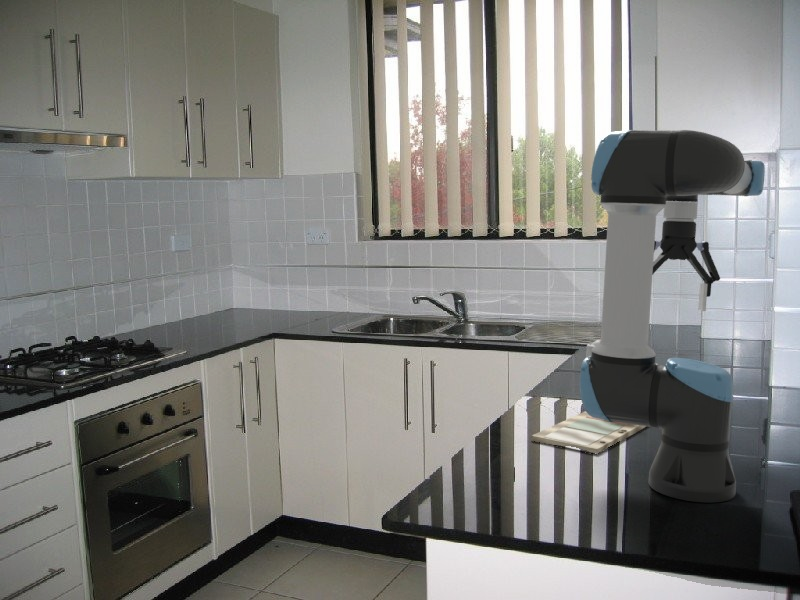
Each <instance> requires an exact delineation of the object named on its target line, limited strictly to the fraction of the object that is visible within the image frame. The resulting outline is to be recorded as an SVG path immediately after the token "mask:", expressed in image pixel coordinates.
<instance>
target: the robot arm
mask: <svg viewBox="0 0 800 600" xmlns="http://www.w3.org/2000/svg"><path fill="white" fill-rule="evenodd" d="M764 163H765V162H763V161H761V160H751V159H748V160H745V158H744V155H743V153H742V152H741V150H740V149H739V147H737V146H736V145H735V144H734V143H732V142H731V141H729V140H727V139H724V138H723V137H720V136H716V135H714V134H711V133H708V132H707V133H706V132H704V131H703V132H702V131H698V130H690V129H680V130H658V129H657V130H656V129H655V130H654V129H653V130H652V129H651V130H647V129H645V130H644V129H643V130H642V129H640V130H638V129H636V130H635V129H634V130H633V129H629V130H620V131H619V130H618V131H610V132H608V133H607V134H605V135H604V136H603V137H602V138H601V139H600V141H599V144H598V146H597V148H596V151H595V153H594V158H593V162H592V168H591V175H590V176H591V177H590V178H591V179H590V180H591V190H592V192H593V193H594V194H595V195H598V196H600V206H602V208H603V210H605V211H606V213H607V228H606V247H605V265H604V279H603V297H602V309H601V311H602V314H601V328H600V329H601V330H600V339H599V340H600V342H599V343H598V344H597V345H596V346H595V347H593V348H592V355H591V356H589V357H586V356H585V358H584V359H583V360H582V363H581V366H580V372H579V373H580V374H579V392H580V399H581V403H582V406H583V408H584V412H585V411H586V412H587V414H588V415H590V416H591V417H593V418H597V419H602V420H607V421H608V422H620V423H627V424H634V425H641V426H647V427H649V428H657V429H661V436H660V438H661V439H660V440H661V441H660V445H659V448H658V450H657V453H656V454H655V457H654V459H653V462H652V464H651V467H650V468H649V472H648V486H649V487H650V488H651V489H652V490H654V491H655V492H657V493H660V494H661V495H664V496H667V497H670V498H674V499H678V500H682V501H686V502H688V501H689V502H695V503H720V502H721V503H722V502H727V501H730V500H733V498H735V496H736V492H737V479H736V477H735V473H734V469H733V464H732V462H731V457H730V455H729V454H730V453H729V447H730V445H729V444H730V433H731V416H732V406H733V403H732V402H734V398H735V397H734V395H733V394H734V393H733V392H734V389H733V388H734V379H733V377H732V375H731V373H729V372H728V371H727V370H726V369H725V368H723V367H720V366H718V365H716V364H713V363H710V362H707V361H706V362H705V361H703V360H697V359H693V358H685V357H684V358H682V357H669V358H668V359H666V362H665V364H658V363H656V352H655V351H654V349H652V347H650V345H649V330H650V315H651V301H652V298H651V297H652V288H653V286H652V285H653V283H652V282H653V275H654V274H655V273H656V272H657V270H658V269H659V268H660V267H661V266H662V265H663V264H664V263H665V262H666V261H668V260H671V261H676V260H680V261H686V260H687V261H688V262H689V264H690V265H691V266H692V267H693V269H694V270H695V271H696V272H697V274H698V276H699V277H700V278H701V279H702V281H703V282H700V283H699V295H698V306H697V307H698V310H699V311H701V312H706V311H707V297H711V294H712V284H714V283H715V282H718V281H720V280H721V277H720V273H719V271H718V269H717V267H716V265H715V262H714V260H713V257H712V255H711V253H710V247H709V244H710V243H709V242H708V241H703V240H702V241H700V242H698V241H697V242H696V236H697V235H696V233H697V223H696V221H695V220H697V218H698V204H699V201H698V200H699V199H698V198H699V196H700V195H701V196H702V195H703V196H712V195H713V196H737V197H739V196H740V197H751V196H753V197H754V196H757V197H758V196H760V195H761V194H763V190H764V184H765V176H766V175H765V173H766V171H765V169H766V167H765V166H766V165H765V164H764ZM662 210H663V218H664V219H665V220H664V221H663V222H662V229H661V230H662V231H661V232H662V233H661V240H660V241H658V240H655V239H656V228H657V227H656V225H657V216H658V215H659V213H660V212H661V211H662ZM658 248H660V249H661V250H662V251H661V253H660V254H659V255H658V257H657V258H656V259H655V260H654V255H655V251H656V250H658ZM696 248H697V250H698V251H699V252H700V255H701V257H702V259H703V262H704V264H705V266H706V269H707V271H708V272H707V271H706V270H705V268H704V267H703V266H702V264H701V263H700V262H699V260H698V259H697V257H696V256H695V254H694V253H693V252H694V251H695V250H696Z"/></svg>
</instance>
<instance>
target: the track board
mask: <svg viewBox="0 0 800 600" xmlns="http://www.w3.org/2000/svg"><path fill="white" fill-rule="evenodd" d="M646 427H648V426H641V425H634V424H627V423H620V422H608V421H607V420H602V419H597V418H593V417H591V416H590V415H588V414H587V412H586V411H585V410H584V411H582V412H580V413H579V414H576V415H574V416H572V417H569V418H567V419H566V420H563V421H561V422H558V423H556V424H555V425H552V426H550V427H547V428H545V429H543V430H541V431H539V432H537V433H535V434H532V435H531V442H534V441H535V442H536V443H539V442H540V443H541V444H544V443H546V444H545V445H548V444H553V445H561V446H571V447H576V448H579V449H583V450H587V451H589V452H593V453H596V454H597V455H599V454H600V453H599V452H601V453H603V452H604V451H606V450H607V448H608V447H610V446H612V445H613V446H615V445H617V444H618V443H617V442H619V441H620V442H622V441H624V440H626V439H628V438H629V437H631V436H632V435H634V434H637V433H638V432H639V431H641V430H644V429H645V428H646ZM620 442H619V443H620ZM540 443H539V444H540ZM616 443H617V444H616ZM614 444H615V445H614ZM553 445H552V446H553ZM613 446H612V447H613ZM610 448H611V447H610ZM605 449H606V450H605ZM608 449H609V448H608ZM603 450H604V451H603ZM602 451H603V452H602ZM598 453H599V454H598Z"/></svg>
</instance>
